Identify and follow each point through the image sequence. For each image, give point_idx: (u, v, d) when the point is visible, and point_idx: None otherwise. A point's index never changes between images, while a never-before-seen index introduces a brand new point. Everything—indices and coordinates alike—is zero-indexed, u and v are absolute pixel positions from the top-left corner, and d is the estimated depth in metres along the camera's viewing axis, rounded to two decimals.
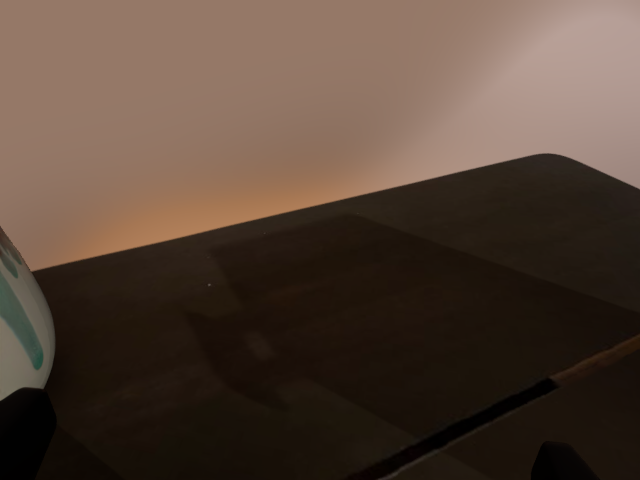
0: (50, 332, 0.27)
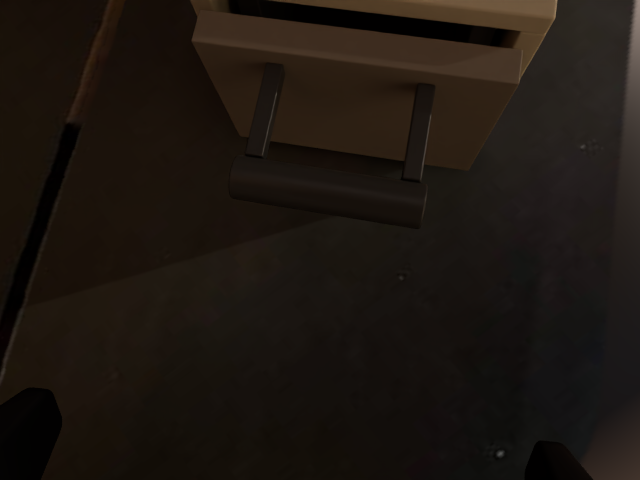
0: None
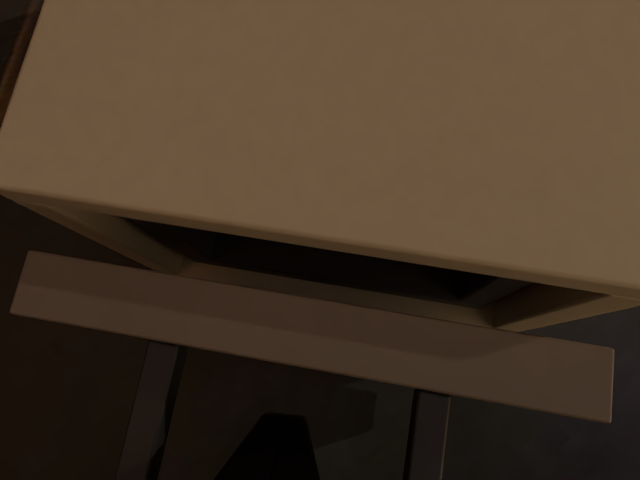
0: None
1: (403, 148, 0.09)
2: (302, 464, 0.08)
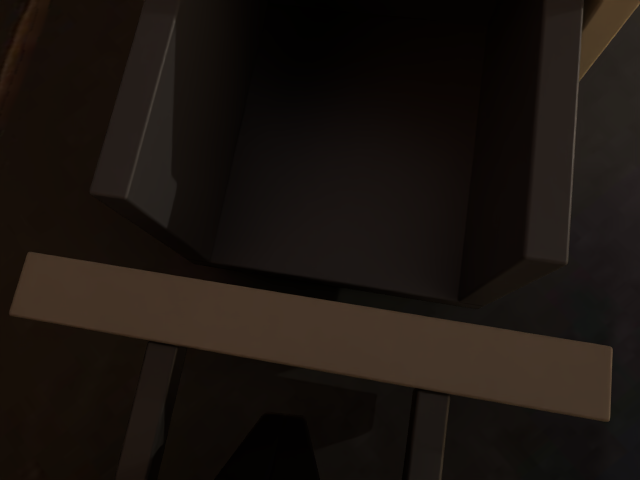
0: None
1: None
2: (302, 464, 0.08)
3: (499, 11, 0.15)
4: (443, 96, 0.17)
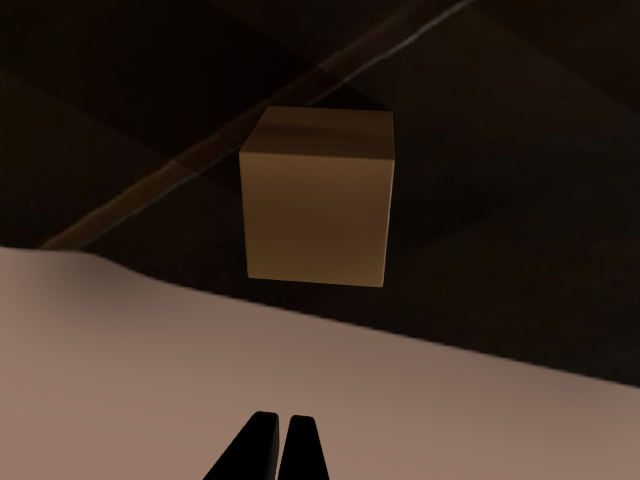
0: None
1: None
2: (312, 465, 0.08)
3: None
4: None
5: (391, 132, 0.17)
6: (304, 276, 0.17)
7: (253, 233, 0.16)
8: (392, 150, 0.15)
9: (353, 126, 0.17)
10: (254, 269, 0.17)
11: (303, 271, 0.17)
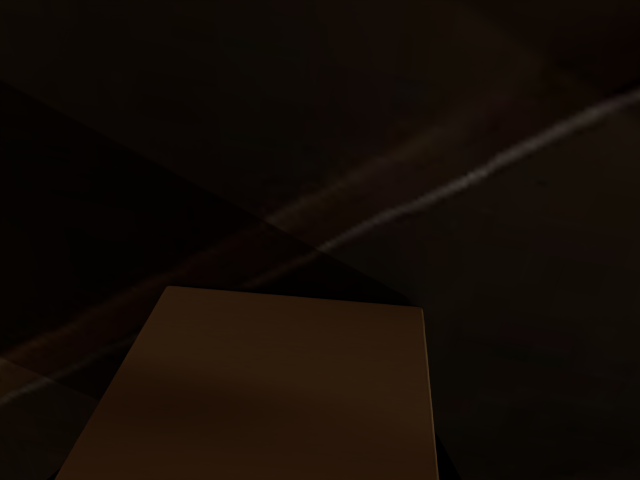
0: None
1: None
2: None
3: None
4: None
5: (428, 413, 0.07)
6: None
7: None
8: None
9: (339, 381, 0.07)
10: None
11: None
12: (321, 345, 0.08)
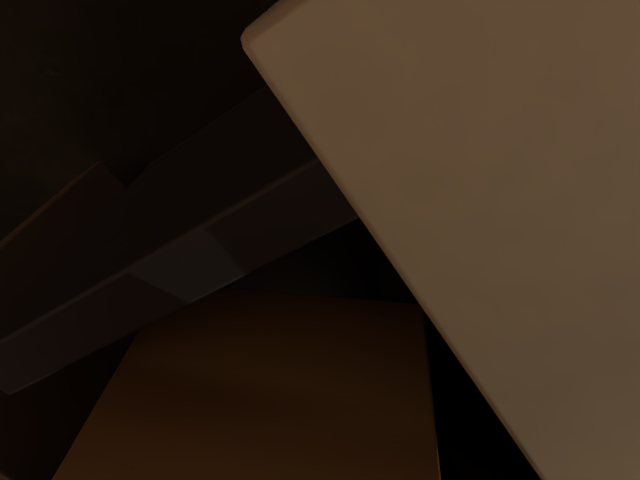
0: None
1: None
2: None
3: None
4: None
5: (430, 410, 0.07)
6: None
7: None
8: None
9: (340, 378, 0.07)
10: None
11: None
12: (322, 342, 0.08)
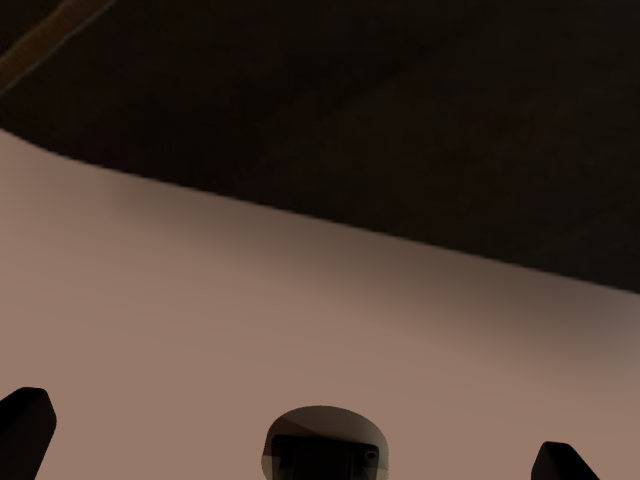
0: None
1: None
2: None
3: None
4: None
5: None
6: None
7: None
8: None
9: None
10: None
11: None
12: None
